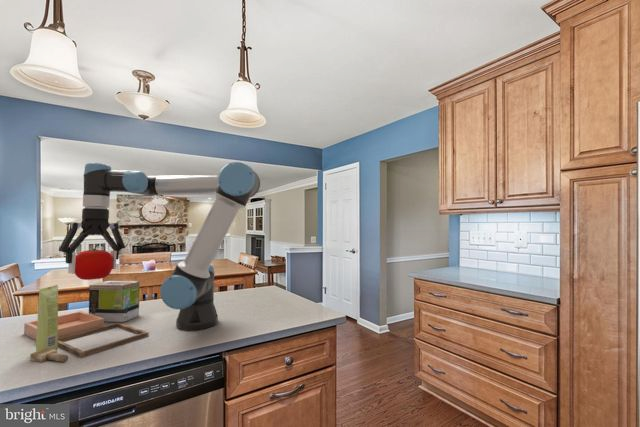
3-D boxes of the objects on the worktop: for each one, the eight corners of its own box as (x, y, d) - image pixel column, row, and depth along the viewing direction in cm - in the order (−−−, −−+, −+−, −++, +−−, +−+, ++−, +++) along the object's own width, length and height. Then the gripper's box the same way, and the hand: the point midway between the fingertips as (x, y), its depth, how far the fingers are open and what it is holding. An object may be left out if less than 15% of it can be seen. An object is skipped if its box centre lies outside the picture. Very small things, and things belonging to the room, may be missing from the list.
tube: (34, 350, 94) (36, 286, 94) (55, 345, 98) (57, 284, 98) (37, 355, 90) (39, 289, 91) (59, 350, 94) (61, 286, 95)
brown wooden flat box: (103, 328, 113) (103, 318, 113) (44, 344, 98) (45, 332, 98) (80, 320, 122) (81, 311, 122) (24, 333, 107) (24, 323, 108)
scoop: (72, 358, 88) (72, 352, 88) (57, 364, 84) (57, 358, 84) (46, 354, 91) (46, 348, 91) (30, 360, 87) (30, 353, 87)
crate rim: (148, 335, 106) (148, 332, 106) (80, 357, 89) (80, 353, 89) (118, 325, 116) (118, 322, 116) (52, 343, 99) (52, 339, 99)
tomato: (110, 275, 113) (111, 246, 114) (114, 280, 104) (116, 249, 104) (71, 278, 106) (73, 247, 106) (72, 284, 97) (73, 250, 97)
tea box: (139, 315, 130) (140, 280, 130) (122, 323, 120) (123, 285, 120) (107, 314, 131) (108, 279, 132) (87, 321, 121) (88, 284, 122)
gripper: (126, 209, 118) (123, 266, 117) (47, 206, 97) (44, 274, 96) (137, 209, 114) (134, 267, 114) (58, 205, 93) (54, 277, 93)
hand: (93, 271), depth 105 cm, fingers closed on tomato, 12 cm apart
